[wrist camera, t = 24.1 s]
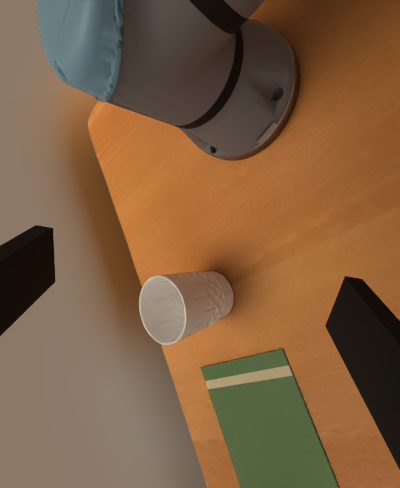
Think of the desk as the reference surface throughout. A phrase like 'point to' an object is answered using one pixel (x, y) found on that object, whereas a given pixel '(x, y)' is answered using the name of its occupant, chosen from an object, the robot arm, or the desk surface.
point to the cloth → (267, 423)
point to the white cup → (183, 304)
